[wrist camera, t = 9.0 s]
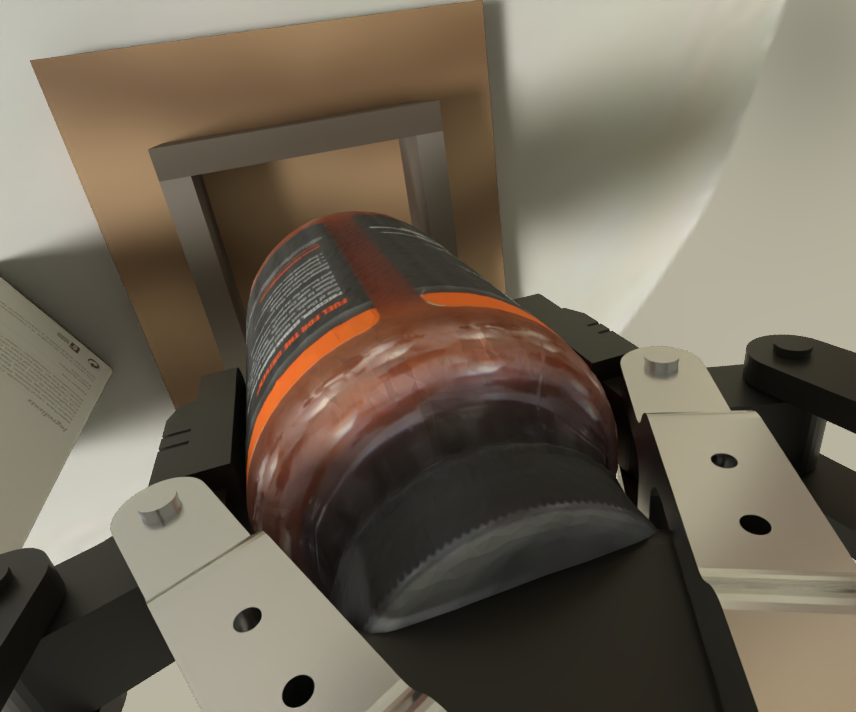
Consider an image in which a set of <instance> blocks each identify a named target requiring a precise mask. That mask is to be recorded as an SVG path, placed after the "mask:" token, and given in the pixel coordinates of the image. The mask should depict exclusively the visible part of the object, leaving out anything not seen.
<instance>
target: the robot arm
mask: <svg viewBox="0 0 856 712" xmlns="http://www.w3.org/2000/svg"><path fill="white" fill-rule="evenodd" d="M513 301H515V302H516V303H517V304H519V305H520V306H521V307H523V308H524V309H525V310H527V311H528V312H529V313H531V314H532V315H533V316H535V317H536V318H537V319H538V320H539V321H541V322H542V323H543V324H544V325H546V326H547V327H548V328H550V329H551V330H552V331H554V332H555V333H556V334H557V335H559V336H560V337H561V338H562V339H563V340H564V341H565V342H566V343H567V344H568V345H569V346H570V347H571V348H572V349H573V350H574V351H575V352H576V353H577V354H578V355H579V356H580V357H581V358H582V359H583V360H584V362H585V363H586V364H587V365H588V367H589V368H590V370H591V371H592V372H593V373H594V374H595V375H596V377H597V379H598V380H599V381H600V383H601V385H602V387H603V389H604V391H605V394H606V397H607V399H608V401H609V404H610V406H611V409H612V412H613V416H614V420H615V423H616V425H617V437H618V444H617V448H618V482H619V483H620V485H621V487H622V489H623V491H624V492H625V494H626V495H627V496H628V498H629V499H630V500H631V501H632V502H633V504H634V505H635V506H636V507H637V508H638V509H639V510H640V511H641V512H642V513H643V514H644V515H645V516H646V517H647V518H648V519H649V520H650V521H651V522H652V523H653V525H654V526H655V527H656V529H657V530H658V531H657V532H656V533H655V534H653V535H652V536H650V537H648V538H646V539H644V540H642V541H640V542H638V543H635V544H632V545H630V546H627V547H624V548H622V549H619V550H617V551H614V552H611V553H609V554H606V555H603V556H601V557H598V558H595V559H592V560H590V561H587V562H584V563H581V564H578V565H575V566H572V567H569V568H566V569H563V570H560V571H557V572H554V573H551V574H548V575H545V576H543V577H540V578H537V579H535V580H532V581H530V582H527V583H524V584H522V585H519V586H517V587H514V588H511V589H509V590H506V591H503V592H501V593H498V594H495V595H493V596H490V597H488V598H485V599H482V600H480V601H477V602H474V603H472V604H469V605H466V606H464V607H461V608H459V609H456V610H453V611H450V612H447V613H445V614H442V615H439V616H436V617H433V618H430V619H427V620H425V621H422V622H419V623H416V624H413V625H410V626H408V627H405V628H402V629H398V630H395V631H391V632H386V633H375V634H367V633H365V632H364V633H362V631H360V630H355V628H354V627H353V626H352V625H351V624H350V623H349V622H348V621H347V620H346V619H345V618H344V617H343V616H342V614H341V613H340V612H339V611H338V610H337V609H336V608H335V607H334V606H333V605H332V604H331V603H330V602H329V600H328V599H327V598H326V597H325V596H324V595H323V594H322V593H321V592H320V591H319V590H318V589H317V588H316V586H315V585H314V584H313V583H312V582H311V581H310V580H309V579H308V578H307V577H306V576H305V575H304V574H303V572H302V571H301V570H300V569H299V568H298V567H297V566H296V565H295V564H294V563H293V562H292V561H291V560H290V558H289V557H288V556H287V555H286V554H285V553H284V552H283V551H282V550H281V549H280V548H279V547H278V545H277V544H276V543H275V542H274V541H273V540H272V539H271V538H270V537H269V536H268V535H267V534H266V533H265V532H264V531H262V530H258V531H256V532H255V533H253V534H251V530H250V524H249V517H248V511H247V489H246V470H245V438H246V415H245V414H246V383H245V380H244V377H243V375H242V373H241V371H240V369H239V368H238V367H237V368H233V369H229V370H225V371H221V372H217V373H213V374H209V375H205V376H202V378H201V382H200V387H199V392H198V397H197V401H195V402H192V403H188V404H184V405H181V406H180V407H179V408H178V409H177V410H176V411H175V412H174V413H173V415H172V416H171V417H170V418H169V419H168V420H167V422H166V425H165V429H164V432H163V439H161V443H160V447H159V451H160V452H158V454H157V457H156V461H155V464H154V468H153V471H152V475H151V479H150V482H149V486H148V487H147V488H145V489H143V490H142V491H140V492H138V493H137V494H135V495H134V496H132V497H131V498H130V499H129V500H127V501H126V502H125V503H124V504H123V505H122V506H121V507H120V508H119V510H118V511H117V512H116V513H115V515H114V517H113V519H112V522H111V527H110V530H111V533H112V535H113V536H112V537H110V538H109V539H107V540H105V541H104V542H102V543H100V544H98V545H96V546H95V547H93V548H91V549H89V550H87V551H84V552H82V553H80V554H78V555H76V556H74V557H72V558H70V559H68V560H66V561H64V562H62V563H60V564H58V565H56V566H54V565H53V564H52V562H51V561H50V559H49V557H48V556H47V554H46V553H45V552H44V551H42V550H39V549H35V548H23V549H17V550H13V551H9V552H6V553H3V554H0V712H121V711H122V708H123V706H124V703H125V700H126V695H127V691H128V690H130V689H131V688H133V687H134V686H136V685H138V684H139V683H141V682H142V681H144V680H146V679H147V678H149V677H150V676H152V675H154V674H155V673H157V672H158V671H160V670H162V669H163V668H165V667H166V666H168V665H169V664H171V663H173V662H174V661H176V663H177V665H178V667H179V668H180V670H181V672H182V674H183V676H184V678H185V680H186V682H187V684H188V686H189V688H190V690H191V692H192V694H193V696H194V698H195V700H196V702H197V704H198V706H199V707H200V709H201V711H202V712H856V564H855V562H854V560H853V559H855V560H856V472H855V471H853V470H851V469H849V468H847V467H845V466H843V465H841V464H839V463H837V462H835V461H833V460H831V459H829V458H827V457H825V456H824V455H822V454H820V453H819V452H820V447H821V443H822V439H823V435H824V430H825V426H826V422H827V421H829V422H831V423H833V424H836V425H838V426H840V427H842V428H845V429H847V430H849V431H851V432H853V433H855V434H856V353H854V352H851V351H848V350H845V349H842V348H839V347H837V346H833V345H830V344H828V343H824V342H822V341H818V340H815V339H812V338H808V337H802V336H796V335H769V336H763V337H759V338H756V339H754V340H752V341H751V342H749V343H748V345H747V347H746V354H745V361H744V364H743V365H731V366H720V367H707V368H706V367H705V365H704V363H703V361H701V359H700V358H699V357H698V356H696V355H695V354H693V353H691V352H688V351H685V350H683V349H679V348H674V347H666V346H651V347H643V348H638V347H636V346H635V345H634V344H632V343H630V342H629V341H627V340H626V339H624V338H623V337H621V336H619V335H618V334H616V333H615V332H613V331H610V330H609V329H608V328H607V327H605V326H604V325H602V324H598V322H597V321H596V320H594V319H593V318H591V317H589V316H588V315H586V314H585V313H581V312H578V311H574V310H570V309H567V308H563V309H562V308H560V307H559V306H557V305H556V304H554V303H553V302H551V301H550V300H548V299H547V298H545V297H544V296H542V295H540V294H535V295H531V296H527V297H523V298H519V299H515V300H513ZM852 558H853V559H852Z"/></svg>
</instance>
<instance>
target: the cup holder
mask: <svg viewBox="0 0 856 712" xmlns="http://www.w3.org/2000/svg"><path fill="white" fill-rule="evenodd" d="M30 62H31V65H32V67H33V69H34V72H35V74H36V76H37V79H38V81H39V84H40V86H41V88H42V91H43V93H44V96H45V98H46V100H47V103H48V105H49V108H50V110H51V112H52V115H53V117H54V120H55V122H56V124H57V127H58V129H59V131H60V134H61V136H62V139H63V141H64V143H65V146H66V148H67V151H68V153H69V155H70V158H71V160H72V163H73V165H74V167H75V170H76V172H77V174H78V177H79V179H80V182H81V184H82V186H83V189H84V191H85V194H86V196H87V198H88V201H89V203H90V206H91V208H92V210H93V213H94V215H95V218H96V220H97V222H98V225H99V227H100V229H101V232H102V234H103V237H104V239H105V241H106V244H107V246H108V249H109V251H110V253H111V256H112V258H113V261H114V263H115V265H116V268H117V270H118V272H119V275H120V277H121V280H122V282H123V284H124V287H125V289H126V292H127V294H128V296H129V299H130V301H131V304H132V306H133V308H134V311H135V313H136V315H137V318H138V320H139V323H140V325H141V327H142V330H143V332H144V335H145V337H146V339H147V342H148V344H149V347H150V349H151V351H152V354H153V356H154V359H155V361H156V363H157V366H158V368H159V370H160V373H161V375H162V378H163V380H164V382H165V385H166V387H167V390H168V392H169V394H170V397H171V399H172V402H173V404H174V406H175V409H176V410H177V409H178V408H179V407H180V406H181V405H184V404H188V403H192V402H195V401H197V397H198V392H199V387H200V382H201V378H202V376H205V375H209V374H213V373H217V372H221V371H225V370H229V369H233V368H237V367H238V368H239V369H240V371H241V373H242V375H243V377H244V380H245V383H246V364H247V362H246V348H247V346H246V316H247V308H248V302H249V298H250V293H251V289H252V285H253V282H254V280H255V278H256V275H257V273H258V271H259V270H260V268H261V266H262V264H263V263H264V261H265V259H266V258H267V256H268V255H269V254H270V253H271V251H272V250H273V249H274V248H275V247H276V246H277V245H278V244H279V243H280V242H281V241H282V240H283V239H284V238H285V237H286V236H287V235H288V234H290V233H291V232H293V231H294V230H296V229H297V228H298V227H300V226H302V225H304V224H306V223H307V222H309V221H312V220H314V219H317V218H320V217H323V216H327V215H331V214H335V213H340V212H350V211H366V212H376V213H381V214H386V215H389V216H391V217H394V218H396V219H399V220H401V221H404V222H406V223H408V224H410V225H412V226H414V227H415V228H417V229H418V230H420V231H422V232H424V233H425V234H426V235H428V236H429V237H430V238H431V239H433V240H434V241H436V242H437V243H439V244H440V245H441V246H442V247H444V248H445V249H446V250H448V251H449V252H450V253H452V254H453V255H454V256H455V257H457V258H458V259H460V260H461V261H462V262H464V263H465V264H467V265H468V266H469V267H470V268H471V269H473V270H474V271H476V272H477V273H478V274H480V275H481V276H482V277H483V278H485V279H486V280H487V281H489V282H490V283H491V284H492V285H494V286H495V287H496V288H498V289H499V290H500V291H502V292H503V293H504V294H506V289H505V277H504V264H503V252H502V240H501V227H500V215H499V202H498V190H497V177H496V165H495V152H494V140H493V128H492V115H491V103H490V90H489V78H488V65H487V53H486V40H485V28H484V15H483V3H482V0H477V1H470V2H462V3H455V4H447V5H440V6H432V7H425V8H418V9H410V10H403V11H395V12H388V13H380V14H373V15H365V16H358V17H350V18H343V19H335V20H328V21H320V22H313V23H305V24H298V25H291V26H283V27H276V28H268V29H261V30H253V31H246V32H238V33H231V34H223V35H216V36H208V37H201V38H193V39H186V40H178V41H171V42H164V43H156V44H149V45H141V46H134V47H126V48H119V49H111V50H104V51H96V52H89V53H81V54H74V55H66V56H59V57H51V58H44V59H37V60H30Z"/></svg>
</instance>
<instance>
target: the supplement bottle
mask: <svg viewBox="0 0 856 712" xmlns="http://www.w3.org/2000/svg"><path fill="white" fill-rule="evenodd" d="M246 346H247V348H246V362H247V364H246V414H245V415H246V438H245V470H246V489H247V511H248V517H249V524H250V530H251V534H253V533H255V532H256V531H258V530H262V531H264V532H265V533H266V534H267V535H268V536H269V537H270V538H271V539H272V540H273V541H274V542H275V543H276V544H277V545H278V547H279V548H280V549H281V550H282V551H283V552H284V553H285V554H286V555H287V556H288V557H289V558H290V560H291V561H292V562H293V563H294V564H295V565H296V566H297V567H298V568H299V569H300V570H301V571H302V572H303V574H304V575H305V576H306V577H307V578H308V579H309V580H310V581H311V582H312V583H313V584H314V585H315V586H316V588H317V589H318V590H319V591H320V592H321V593H322V594H323V595H324V596H325V597H326V598H327V599H328V600H329V602H330V603H331V604H332V605H333V606H334V607H335V608H336V609H337V610H338V611H339V612H340V613H341V614H342V616H343V617H344V618H345V619H346V620H347V621H348V622H349V623H350V624H351V625H352V626H353V627H354V628H355V630H360V631H362V633H364V632H365V633H367V634H375V633H386V632H391V631H395V630H398V629H402V628H405V627H408V626H410V625H413V624H416V623H419V622H422V621H425V620H427V619H430V618H433V617H436V616H439V615H442V614H445V613H447V612H450V611H453V610H456V609H459V608H461V607H464V606H466V605H469V604H472V603H474V602H477V601H480V600H482V599H485V598H488V597H490V596H493V595H495V594H498V593H501V592H503V591H506V590H509V589H511V588H514V587H517V586H519V585H522V584H524V583H527V582H530V581H532V580H535V579H537V578H540V577H543V576H545V575H548V574H551V573H554V572H557V571H560V570H563V569H566V568H569V567H572V566H575V565H578V564H581V563H584V562H587V561H590V560H592V559H595V558H598V557H601V556H603V555H606V554H609V553H611V552H614V551H617V550H619V549H622V548H624V547H627V546H630V545H632V544H635V543H638V542H640V541H642V540H644V539H646V538H648V537H650V536H652V535H653V534H655V533H656V532H657V531H658V530H657V529H656V527H655V526H654V525H653V523H652V522H651V521H650V520H649V519H648V518H647V517H646V516H645V515H644V514H643V513H642V512H641V511H640V510H639V509H638V508H637V507H636V506H635V505H634V504H633V502H632V501H631V500H630V499H629V498H628V496H627V495H626V494H625V492H624V491H623V489H622V487H621V485H620V483H619V482H618V480H617V479H616V473H617V470H618V448H617V444H618V437H617V425H616V423H615V420H614V416H613V412H612V409H611V406H610V404H609V401H608V399H607V397H606V394H605V391H604V389H603V387H602V385H601V383H600V381H599V380H598V379H597V377H596V375H595V374H594V373H593V372H592V371H591V370H590V368H589V367H588V365H587V364H586V363H585V362H584V360H583V359H582V358H581V357H580V356H579V355H578V354H577V353H576V352H575V351H574V350H573V349H572V348H571V347H570V346H569V345H568V344H567V343H566V342H565V341H564V340H563V339H562V338H561V337H560V336H559V335H557V334H556V333H555V332H554V331H552V330H551V329H550V328H548V327H547V326H546V325H544V324H543V323H542V322H541V321H539V320H538V319H537V318H536V317H535V316H533V315H532V314H531V313H529V312H528V311H527V310H525V309H524V308H523V307H521V306H520V305H519V304H517V303H516V302H515V301H513V300H512V299H511V298H509V297H508V296H507V295H506V294H504V293H503V292H502V291H500V290H499V289H498V288H496V287H495V286H494V285H492V284H491V283H490V282H489V281H487V280H486V279H485V278H483V277H482V276H481V275H480V274H478V273H477V272H476V271H474V270H473V269H471V268H470V267H469V266H468V265H467V264H465V263H464V262H462V261H461V260H460V259H458V258H457V257H455V256H454V255H453V254H452V253H450V252H449V251H448V250H446V249H445V248H444V247H442V246H441V245H440V244H439V243H437V242H436V241H434V240H433V239H431V238H430V237H429V236H428V235H426V234H425V233H424V232H422V231H420V230H418V229H417V228H415V227H414V226H412V225H410V224H408V223H406V222H404V221H401V220H399V219H396V218H394V217H391V216H389V215H386V214H381V213H376V212H366V211H350V212H340V213H335V214H331V215H327V216H323V217H320V218H317V219H314V220H312V221H309V222H307V223H306V224H304V225H302V226H300V227H298V228H297V229H296V230H294V231H293V232H291V233H290V234H288V235H287V236H286V237H285V238H284V239H283V240H282V241H281V242H280V243H279V244H278V245H277V246H276V247H275V248H274V249H273V250H272V251H271V253H270V254H269V255H268V256H267V258H266V259H265V261H264V263H263V264H262V266H261V268H260V270H259V271H258V273H257V275H256V278H255V280H254V282H253V285H252V289H251V293H250V298H249V302H248V308H247V316H246Z"/></svg>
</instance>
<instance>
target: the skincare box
mask: <svg viewBox="0 0 856 712" xmlns="http://www.w3.org/2000/svg"><path fill="white" fill-rule="evenodd" d="M111 374H112V369H111V368H110V367H109V366H108V365H106V364H105V363H104V362H103V361H102V360H100V359H99V358H98V357H97V356H96V355H94V354H93V353H92V352H91V351H90V350H88V349H87V348H86V347H85V346H84V345H82V344H81V343H80V342H79V341H78V340H76V339H75V338H74V337H73V336H72V335H70V334H69V333H68V332H67V331H66V330H64V329H63V328H62V327H61V326H59V325H58V324H57V323H56V322H55V321H53V320H52V319H51V318H50V317H49V316H47V315H46V314H45V313H44V312H42V311H41V310H40V309H39V308H37V307H36V306H35V305H34V304H33V303H31V302H30V301H29V300H28V299H26V298H25V297H24V296H23V295H22V294H20V293H19V292H18V291H17V290H16V289H14V288H13V287H12V286H11V285H10V284H8V283H7V282H6V281H5V280H4V279H2V278H1V277H0V554H3V553H6V552H9V551H13V550H17V549H22V547H23V545H24V543H25V541H26V539H27V537H28V535H29V533H30V531H31V529H32V527H33V525H34V523H35V521H36V519H37V517H38V515H39V513H40V511H41V509H42V507H43V505H44V503H45V501H46V500H47V498H48V496H49V494H50V492H51V490H52V488H53V486H54V484H55V482H56V480H57V478H58V476H59V474H60V472H61V470H62V468H63V466H64V464H65V462H66V460H67V458H68V457H69V455H70V453H71V451H72V449H73V447H74V445H75V443H76V441H77V439H78V437H79V435H80V433H81V431H82V429H83V427H84V425H85V423H86V421H87V419H88V417H89V415H90V413H91V412H92V410H93V408H94V406H95V404H96V402H97V400H98V398H99V396H100V394H101V392H102V390H103V388H104V386H105V385H106V383H107V381H108V379H109V377H110V376H111Z"/></svg>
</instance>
